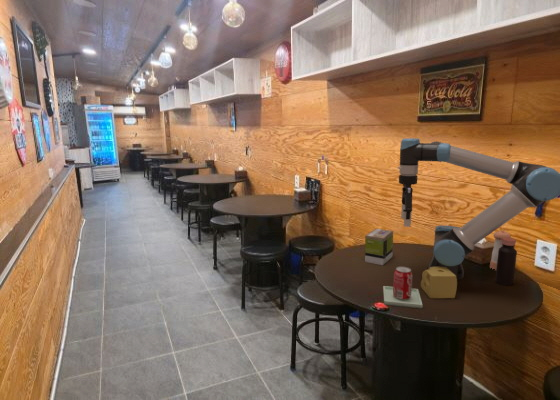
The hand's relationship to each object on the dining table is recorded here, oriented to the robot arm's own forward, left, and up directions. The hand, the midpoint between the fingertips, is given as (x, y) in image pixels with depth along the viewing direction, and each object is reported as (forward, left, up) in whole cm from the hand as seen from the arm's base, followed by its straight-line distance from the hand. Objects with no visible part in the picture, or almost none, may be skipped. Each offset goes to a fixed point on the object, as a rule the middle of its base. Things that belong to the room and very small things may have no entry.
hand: (405, 222), depth 157 cm
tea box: (+10, -23, -27) cm, 37 cm away
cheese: (-13, +12, -27) cm, 32 cm away
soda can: (+2, +20, -26) cm, 33 cm away
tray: (+2, +20, -27) cm, 33 cm away
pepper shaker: (-46, -22, -27) cm, 58 cm away
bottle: (-43, -5, -27) cm, 51 cm away
